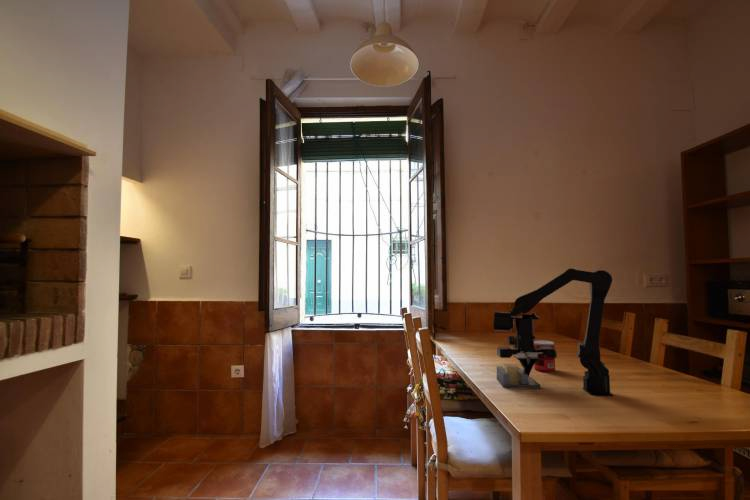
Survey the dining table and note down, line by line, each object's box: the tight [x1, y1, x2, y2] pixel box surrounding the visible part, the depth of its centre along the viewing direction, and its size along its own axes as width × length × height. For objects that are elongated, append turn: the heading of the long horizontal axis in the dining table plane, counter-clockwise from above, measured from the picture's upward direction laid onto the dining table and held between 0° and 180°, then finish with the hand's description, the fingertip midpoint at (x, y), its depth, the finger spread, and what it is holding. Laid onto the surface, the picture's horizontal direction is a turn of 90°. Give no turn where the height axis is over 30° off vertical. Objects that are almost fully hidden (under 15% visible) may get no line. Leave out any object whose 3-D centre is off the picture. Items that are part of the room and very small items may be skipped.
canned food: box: [533, 339, 556, 373], centre depth 145 cm, size 8×8×11 cm
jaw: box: [518, 366, 528, 384], centre depth 126 cm, size 5×10×3 cm, turn 174°
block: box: [503, 363, 519, 382], centre depth 127 cm, size 4×4×5 cm
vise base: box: [496, 365, 541, 390], centre depth 127 cm, size 12×10×5 cm
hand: (527, 377), depth 126 cm, fingers closed
